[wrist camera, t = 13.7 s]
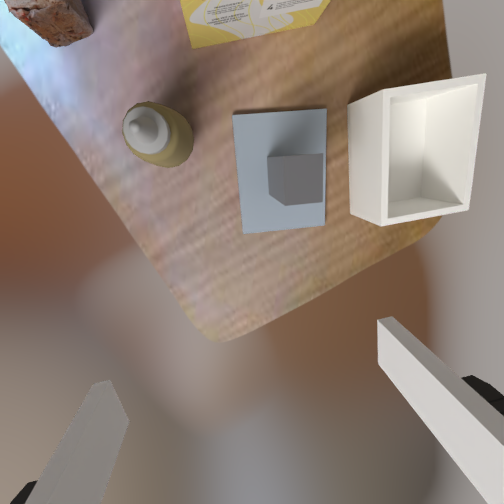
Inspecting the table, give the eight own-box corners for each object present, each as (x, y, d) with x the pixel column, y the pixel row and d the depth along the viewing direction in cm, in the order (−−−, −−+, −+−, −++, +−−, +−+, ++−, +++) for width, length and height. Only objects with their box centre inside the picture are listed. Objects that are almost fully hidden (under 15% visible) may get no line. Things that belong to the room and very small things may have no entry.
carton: (347, 104, 43) (383, 89, 33) (428, 91, 43) (486, 73, 34) (350, 213, 49) (381, 226, 39) (421, 200, 49) (468, 210, 40)
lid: (231, 116, 41) (236, 97, 29) (323, 109, 43) (366, 89, 30) (242, 232, 48) (250, 257, 36) (322, 223, 49) (356, 245, 37)
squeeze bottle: (151, 101, 39) (99, 58, 22) (203, 125, 41) (191, 101, 24) (137, 154, 41) (79, 151, 25) (186, 175, 43) (165, 185, 26)
